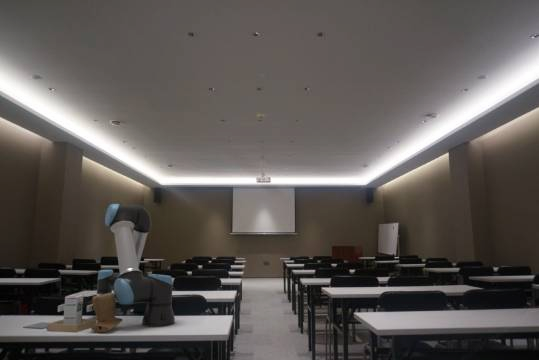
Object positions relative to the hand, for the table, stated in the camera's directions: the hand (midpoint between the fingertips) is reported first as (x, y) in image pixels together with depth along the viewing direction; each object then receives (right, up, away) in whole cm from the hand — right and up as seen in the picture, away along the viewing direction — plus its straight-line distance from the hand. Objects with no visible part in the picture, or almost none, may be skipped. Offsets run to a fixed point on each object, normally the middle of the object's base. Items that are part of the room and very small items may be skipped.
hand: (73, 308), depth 174 cm
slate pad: (-16, -9, +3) cm, 19 cm away
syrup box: (+1, -8, -2) cm, 9 cm away
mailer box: (+2, -9, +4) cm, 10 cm away
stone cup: (+17, -7, -5) cm, 19 cm away
